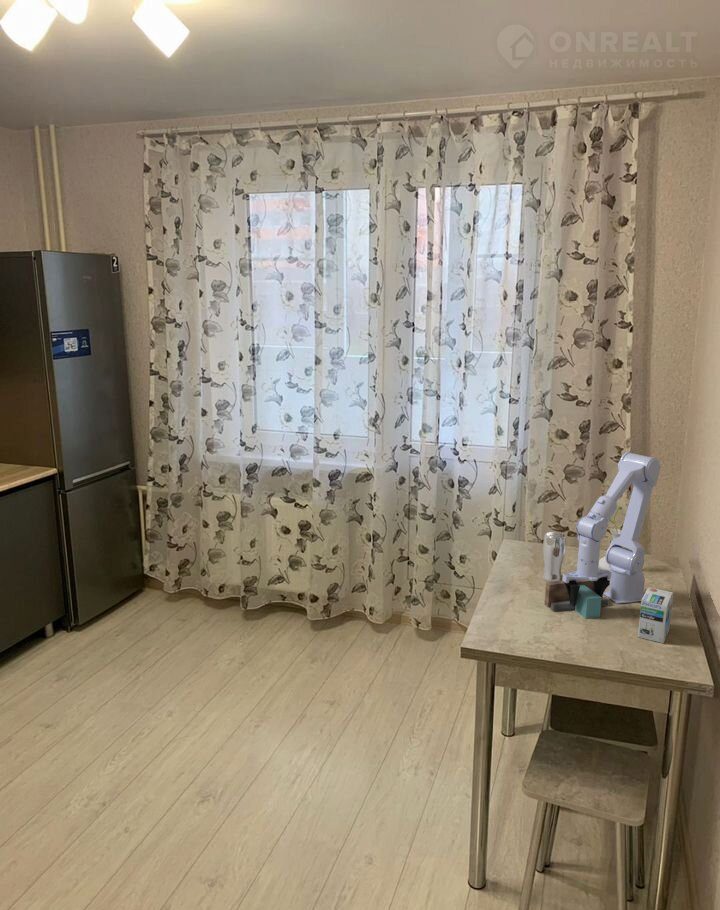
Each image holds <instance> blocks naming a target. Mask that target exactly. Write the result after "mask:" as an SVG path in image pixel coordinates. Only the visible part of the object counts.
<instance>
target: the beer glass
mask: <svg viewBox="0 0 720 910" xmlns="http://www.w3.org/2000/svg"><path fill="white" fill-rule="evenodd" d="M566 536H567V535H566V534H565V533H563V532H561V531H555V530H554V531H553V530H552V531H546V532H545V533H544V537H543V543H542V555H543V564H544V566H543V567H544V569H543V573H542V577H541V578H542V580H544V581H546V582H554V581H562V578H563V575H562V566H563V562H564V558H565V554H566V549H567V547H566V546H567V543H566V542H567V541H566V538H567V537H566Z"/></svg>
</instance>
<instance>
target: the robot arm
mask: <svg viewBox="0 0 720 910" xmlns="http://www.w3.org/2000/svg"><path fill="white" fill-rule="evenodd" d="M661 467H662V466H661V463H660V461H659V459H658V458H656V457H652V456H646V455H641V454H637V453H632V452H630V451H626V452H624V454H623V455H621V457H620V459H619V461H618V464H617V469H618V472H617V473H616V476H615V478H614V479H613V481H612V482H611V484H610V486H609V488H608V489H607V492H606V494H605V495H601V496H599V497H598V498H597V499H596V501H595V503H594V504H593V506H592V507H591V509H590V510H589V512H588V513H587V515H586V516H584V517H580V519H579V520H578V521H577V524H576V526H575V533H576V535H577V541H578V551H577V552H578V554H577V564H576V566H577V567H576V570H575V571H571V572H568V573H565V574H564V573H562V580H561V581H564V584H565V586H566V588H567V591H568V594H569V599H570V604H572V605H573V606H576V603H577V595H578V591H579V588H580V586H579V585H577V583H576V581H582V580H591V581H593V583H594V592H595V593H596V594H598V595H599V596H600V597H602V595H603V596H605V597H606V598H608V599H610V600H611V601H613V602H614V603H615V604H627V603H635V602H636V603H637V602H641V600H642V598H643V596H644V592H645V591H644V590H645V574H644V572H643V571H642V569H643V567H644V564H645V553H646V549H645V547H644V546H643V545H642V544H641V542H640V541H639V540H640V536H641V533H642V529H643V525H644V522H645V520H646V515H647V511H648V507H649V503H650V500H651V495H652V492H653V488H654V487H656V486H657V483H658V479H659V475H660V472H661ZM631 484H632V485H633V488H632V492H631V495H630V498H629V503H628V505H629V506H628V509H627V513H626V516H624V521H623V523H622V524H623V525H622V528H621V530H622V531H621V535H620V537H618V538H616V539H612V540H611V542H610V544H609V546H608V548H607V549H606V552H605V555H604V557H606V562H607V563H608V564H609V568H611V572H610V571H608V570H601V569H599V567H598V566H599V560H600V552H601V543H602V539H604V537H605V536H606V534H607V531H608V530H607V529H608V527H609V522H610V521H609V520H610V518H612V517H613V516H614V515H615V513H616V511H617V510H616V509H617V501H618V499H619V498H622V496H623V495H624V493H625V492H626V491H627V490H628V489H629V487H630V486H631ZM607 588H608V590H606V589H607Z"/></svg>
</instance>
